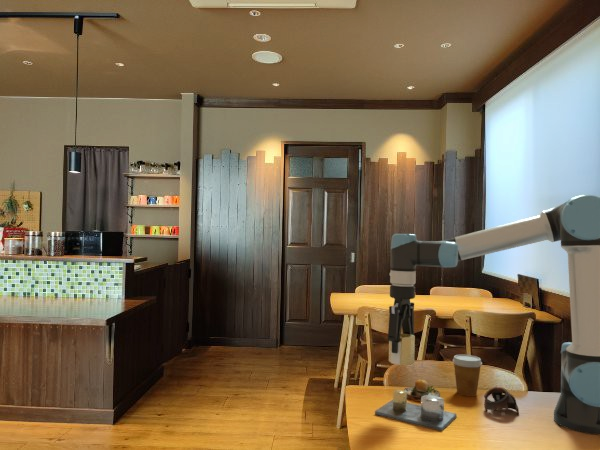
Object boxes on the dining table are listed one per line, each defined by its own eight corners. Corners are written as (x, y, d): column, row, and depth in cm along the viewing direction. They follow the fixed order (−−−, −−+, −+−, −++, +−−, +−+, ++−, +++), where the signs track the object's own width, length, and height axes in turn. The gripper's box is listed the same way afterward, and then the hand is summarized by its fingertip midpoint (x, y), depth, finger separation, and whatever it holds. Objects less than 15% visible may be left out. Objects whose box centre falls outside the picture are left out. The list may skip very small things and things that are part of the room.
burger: (445, 396, 163) (445, 373, 163) (433, 406, 153) (433, 382, 153) (410, 389, 169) (411, 367, 169) (397, 398, 160) (397, 375, 160)
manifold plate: (456, 417, 143) (456, 396, 143) (441, 431, 132) (442, 409, 133) (393, 402, 154) (393, 383, 155) (375, 414, 144) (375, 393, 144)
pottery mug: (526, 419, 144) (516, 397, 142) (495, 431, 145) (485, 409, 144) (511, 396, 155) (501, 375, 154) (483, 407, 157) (473, 386, 155)
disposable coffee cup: (484, 392, 167) (484, 357, 167) (478, 399, 159) (478, 362, 159) (456, 387, 172) (456, 352, 172) (448, 394, 164) (449, 358, 164)
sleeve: (416, 361, 147) (417, 335, 147) (407, 366, 142) (408, 338, 142) (395, 357, 151) (395, 331, 151) (385, 362, 146) (386, 335, 146)
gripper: (403, 281, 157) (402, 352, 157) (376, 286, 141) (374, 365, 140) (426, 283, 153) (424, 356, 153) (401, 288, 137) (399, 370, 136)
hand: (400, 361), depth 147 cm, fingers closed on sleeve, 7 cm apart
